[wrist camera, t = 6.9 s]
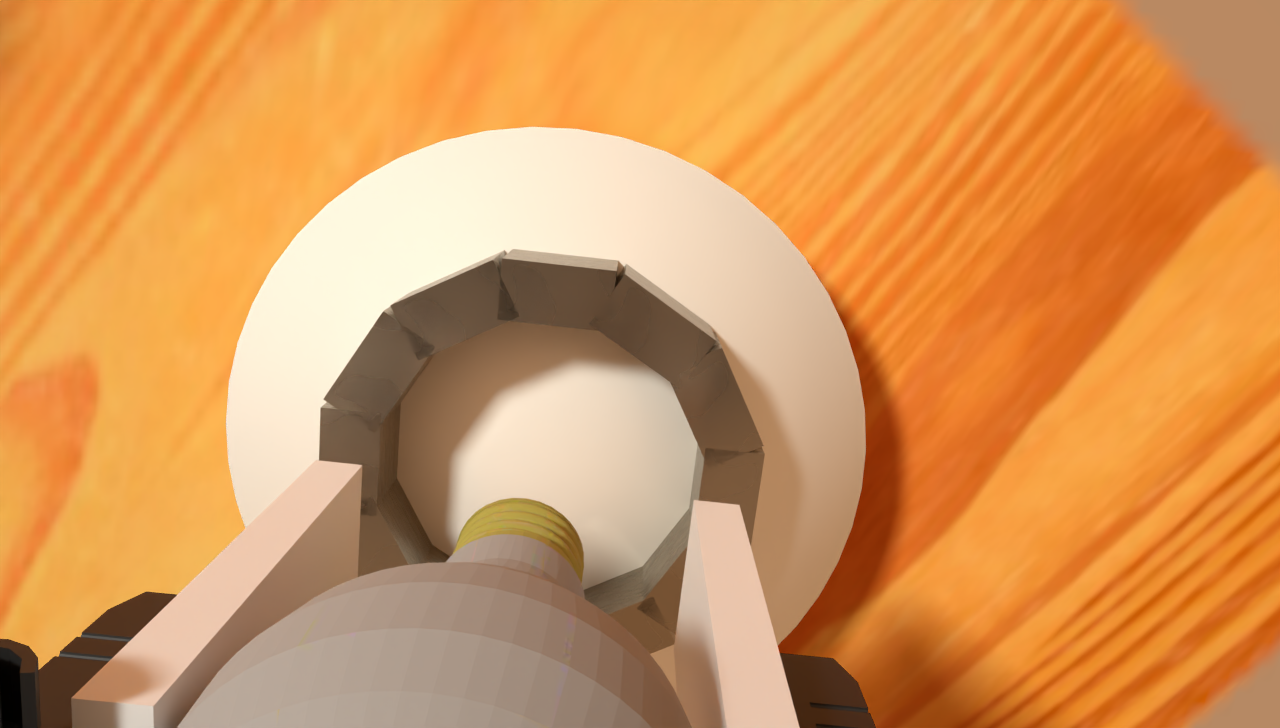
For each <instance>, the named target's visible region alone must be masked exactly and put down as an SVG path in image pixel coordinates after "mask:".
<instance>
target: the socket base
mask: <svg viewBox="0 0 1280 728" xmlns="http://www.w3.org/2000/svg"><path fill="white" fill-rule="evenodd" d="M512 249H519V250H528V251H537V252H546V253H555V254H564V255H573V256H582V257H591V258H600V259H609V260H618V268H617V276H618V274H619V273H620V272H621V270H622V269H623V267H624V266H625V265H626V264H627V265H629V266H630V267H632V268H633V269H634V270H636V271H637V272H638V273H640V274H641V275H642V276H644V277H645V278H647V279H648V280H649V281H651V282H652V283H653V284H655V285H656V286H657V287H659V288H660V289H662V290H663V291H664V292H666V293H667V294H668V295H670V296H671V297H672V298H674V299H675V300H677V301H678V302H679V303H681V304H682V305H683V306H685V307H686V308H687V309H689V310H690V311H692V312H693V313H694V314H696V315H697V316H698V317H700V318H701V319H703V320H704V321H705V322H707V323H708V324H709V325H710V326H711V329H712V331H713V332H716V335H717V337H718V339H719V342H720V344H721V346H722V349H723V351H724V353H725V356H726V358H727V360H728V363H729V365H730V367H731V370H732V372H733V374H734V377H735V379H736V382H737V384H738V386H739V389H740V391H741V393H742V396H743V398H744V400H745V403H746V405H747V407H748V410H749V412H750V414H751V417H752V419H753V421H754V424H755V426H756V429H757V431H758V433H759V436H760V438H761V440H762V443H763V445H764V446H762V449H763V451H764V453H765V456H764V463H763V470H762V476H761V483H760V489H759V496H758V503H757V509H756V516H755V522H754V529H753V536H752V542H751V550H752V553H753V557H754V561H755V565H756V568H757V572H758V576H759V579H760V583H761V587H762V590H763V594H764V598H765V602H766V605H767V609H768V613H769V616H770V620H771V624H772V627H773V631H774V635H775V639H776V642H777V646H778V645H779V644H780V643H781V642H782V641H783V640H784V639H785V638H786V637H787V636H788V635H789V634H790V633H791V631H792V630H793V629H794V628H795V627H796V626H797V625H798V624H799V622H800V621H801V620H802V618H803V617H804V616H805V614H806V613H807V612H808V610H809V609H810V608H811V606H812V605H813V604H814V602H815V601H816V600H817V598H818V597H819V595H820V594H821V592H822V590H823V588H824V587H825V585H826V583H827V581H828V579H829V578H830V576H831V574H832V572H833V571H834V569H835V567H836V565H837V563H838V561H839V559H840V556H841V554H842V551H843V549H844V546H845V544H846V541H847V539H848V536H849V534H850V531H851V529H852V526H853V522H854V518H855V514H856V510H857V506H858V502H859V498H860V494H861V490H862V482H863V473H864V464H865V455H866V432H865V408H864V402H863V396H862V390H861V384H860V378H859V372H858V368H857V365H856V362H855V358H854V355H853V352H852V349H851V346H850V342H849V339H848V336H847V333H846V330H845V328H844V326H843V324H842V322H841V320H840V317H839V315H838V313H837V311H836V309H835V307H834V305H833V303H832V301H831V298H830V296H829V294H828V292H827V291H826V289H825V288H824V286H823V285H822V283H821V282H820V280H819V279H818V277H817V275H816V274H815V272H814V271H813V269H812V268H811V266H810V265H809V263H808V262H807V260H806V259H805V257H804V256H803V255H802V254H801V253H800V251H799V250H798V249H797V248H796V247H795V246H794V245H793V243H792V242H791V241H790V240H789V239H788V238H787V236H786V235H785V234H784V233H783V232H782V231H781V230H780V228H779V227H778V226H777V225H776V224H775V223H774V222H773V221H772V220H770V219H769V218H768V217H767V216H766V215H765V214H764V213H762V212H761V211H760V210H759V209H758V208H757V207H756V206H754V205H753V204H752V203H751V202H750V201H749V200H748V199H746V198H745V197H744V196H743V195H741V194H740V193H738V192H737V191H735V190H734V189H732V188H731V187H729V186H728V185H726V184H725V183H723V182H722V181H720V180H719V179H717V178H716V177H714V176H713V175H711V174H710V173H708V172H707V171H705V170H703V169H701V168H699V167H697V166H695V165H693V164H690V163H688V162H686V161H684V160H682V159H680V158H678V157H676V156H674V155H672V154H670V153H668V152H666V151H663V150H660V149H657V148H654V147H650V146H647V145H644V144H641V143H638V142H635V141H632V140H629V139H626V138H623V137H618V136H613V135H607V134H602V133H596V132H591V131H585V130H580V129H567V128H545V127H525V128H513V129H502V130H491V131H484V132H480V133H475V134H471V135H466V136H462V137H458V138H453V139H449V140H445V141H441V142H439V143H436V144H433V145H431V146H428V147H425V148H423V149H420V150H418V151H415V152H412V153H410V154H407V155H404V156H402V157H400V158H398V159H396V160H394V161H392V162H391V163H389V164H387V165H385V166H383V167H381V168H380V169H378V170H376V171H374V172H372V173H371V174H369V175H367V176H365V177H363V178H362V179H360V180H359V181H358V182H356V183H355V184H354V185H352V186H351V187H350V188H348V189H347V190H346V191H344V192H343V193H342V194H340V195H339V196H338V197H336V198H335V199H334V200H332V201H331V202H330V203H328V204H327V205H326V206H325V207H324V208H323V209H322V210H321V211H320V212H319V213H318V214H317V215H316V216H315V217H314V218H313V219H312V220H311V221H310V222H309V223H308V224H307V225H306V226H305V227H304V228H303V229H302V230H301V231H300V232H299V233H298V234H297V235H296V237H295V238H294V239H293V241H292V242H291V243H290V245H289V246H288V247H287V249H286V250H285V251H284V253H283V254H282V255H281V257H280V258H279V259H278V261H277V262H276V263H275V265H274V266H273V267H272V269H271V271H270V273H269V274H268V276H267V278H266V280H265V282H264V284H263V285H262V287H261V289H260V291H259V293H258V295H257V296H256V298H255V300H254V302H253V304H252V306H251V309H250V311H249V314H248V317H247V319H246V322H245V325H244V327H243V330H242V333H241V335H240V338H239V341H238V344H237V348H236V353H235V358H234V362H233V367H232V371H231V376H230V380H229V389H228V403H227V416H226V431H227V446H228V462H229V467H230V472H231V477H232V482H233V487H234V492H235V497H236V502H237V505H238V507H239V510H240V513H241V516H242V519H243V522H244V525H245V528H247V527H248V526H249V525H250V524H251V523H252V522H253V521H254V520H255V519H256V518H257V517H258V516H259V515H260V514H261V513H262V512H263V511H264V510H265V509H266V508H267V507H268V506H269V505H270V504H271V503H272V502H273V501H274V500H275V499H276V498H277V497H278V496H280V495H281V494H282V493H283V492H284V491H285V490H286V489H287V488H288V487H289V486H290V485H291V484H292V483H293V482H294V481H295V480H296V479H297V478H298V477H299V476H300V475H301V474H302V473H303V472H304V471H305V470H306V469H307V468H308V467H309V466H310V465H311V464H312V463H313V462H314V461H315V460H319V440H320V408H321V407H322V406H323V405H324V404H325V403H326V401H325V400H323V399H324V397H325V396H326V394H327V393H328V391H329V390H330V388H331V387H332V386H333V384H334V383H335V381H336V380H337V378H338V377H339V375H340V374H341V372H342V371H343V369H344V368H345V366H346V365H347V364H348V362H349V361H350V359H351V358H352V356H353V355H354V353H355V352H356V350H357V349H358V347H359V346H360V344H361V343H362V341H363V340H364V339H365V337H366V336H367V334H368V333H369V331H370V330H371V328H372V327H373V325H374V324H375V322H376V321H377V319H378V318H379V316H380V315H381V314H382V312H383V311H384V310H386V309H387V308H389V307H390V305H391V304H393V303H394V302H396V301H397V300H399V299H400V298H402V297H404V296H405V295H407V294H408V293H410V292H412V291H414V290H416V289H418V288H421V287H423V286H425V285H427V284H430V283H432V282H434V281H436V280H439V279H441V278H443V277H445V276H448V275H450V274H452V273H454V272H457V271H459V270H461V269H463V268H466V267H468V266H470V265H472V264H475V263H477V262H479V261H481V260H484V259H486V258H488V257H490V256H493V255H495V254H497V253H499V252H502V251H504V250H505V252H506V254H508V253H509V252H510V251H511V250H512ZM697 445H698V444H697V441H696V439H695V437H694V435H693V432H692V430H691V428H690V426H689V423H688V421H687V419H686V417H685V414H684V412H683V410H682V408H681V405H680V403H679V401H678V399H677V396H676V394H675V392H674V390H673V387H672V385H671V383H670V382H669V381H668V380H667V379H665V378H664V377H662V376H661V375H660V374H658V373H657V372H655V371H654V370H653V369H651V368H650V367H648V366H647V365H646V364H644V363H643V362H641V361H640V360H639V359H637V358H636V357H634V356H633V355H632V354H630V353H629V352H627V351H626V350H625V349H623V348H622V347H620V346H619V345H618V344H616V343H615V342H613V341H612V340H611V339H609V338H608V337H606V336H605V335H604V334H602V333H601V332H599V331H596V330H587V329H578V328H568V327H559V326H550V325H541V324H532V323H522V322H513V321H508V322H506V323H504V324H501V325H499V326H497V327H494V328H492V329H490V330H487V331H485V332H483V333H481V334H478V335H476V336H474V337H471V338H469V339H467V340H465V341H462V342H460V343H458V344H455V345H453V346H451V347H449V348H446V349H444V350H442V351H439V352H437V353H435V355H434V356H433V357H432V359H431V360H430V362H429V363H428V365H427V366H426V367H425V369H424V370H423V372H422V373H421V375H420V376H419V377H418V379H417V380H416V382H415V383H414V385H413V386H412V387H411V389H410V390H409V392H408V393H407V395H406V396H405V397H404V399H403V400H402V402H401V409H400V428H399V447H398V466H397V479H398V481H399V483H400V485H401V487H402V489H403V490H404V492H405V494H406V496H407V498H408V500H409V502H410V504H411V506H412V507H413V509H414V511H415V513H416V515H417V517H418V519H419V521H420V522H421V524H422V526H423V528H424V530H425V532H426V534H427V536H428V538H429V539H430V541H431V543H432V545H433V546H435V547H436V548H438V549H439V550H441V551H443V552H444V553H446V554H447V555H449V556H450V557H451V556H452V554H453V552H454V550H455V548H456V544H457V541H458V538H459V535H460V532H461V530H462V528H463V527H464V525H465V523H466V522H467V520H468V519H469V518H470V517H471V516H472V515H473V514H474V513H475V512H476V511H478V510H479V509H481V508H482V507H484V506H485V505H487V504H490V503H493V502H495V501H498V500H502V499H509V498H527V499H531V500H535V501H540V502H542V503H544V504H546V505H549V506H551V507H553V508H554V509H555V510H557V511H558V512H560V513H561V514H563V515H564V516H565V517H566V518H567V519H568V520H569V521H570V522H571V524H572V525H573V527H574V528H575V530H576V531H577V533H578V535H579V538H580V540H581V543H582V547H583V552H584V570H583V578H582V587H583V590H585V589H587V588H590V587H592V586H595V585H597V584H600V583H602V582H605V581H607V580H610V579H612V578H615V577H617V576H620V575H622V574H625V573H627V572H630V571H632V570H634V569H637V568H639V567H642V566H643V565H644V564H645V563H646V561H647V560H648V559H649V558H650V556H651V555H652V554H653V553H654V551H655V550H656V549H657V548H658V546H659V545H660V544H661V543H662V541H663V540H664V539H665V538H666V536H667V535H668V534H669V533H670V531H671V530H672V529H673V528H674V526H675V525H676V524H677V523H678V521H679V520H680V519H681V518H682V516H683V515H684V514H685V513H686V511H687V510H688V509H689V505H690V498H691V490H692V483H693V475H694V468H695V460H696V453H697ZM675 636H676V635H675ZM650 655H651V656H652V657H653V659H654V660H655V661H656V662H657V664H658V665H659V666H660V668H661V669H662V670H663V672H664V674H665V675H666V677H667V679H668V680H669V682H670V683H671V685H672V687H673V688H674V690H675V692H676V694H677V690H676V674H675V658H674V645H672V646H669V647H666V648H664V649H661V650H659V651H656V652H654V653H651V654H650Z"/></svg>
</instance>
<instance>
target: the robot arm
mask: <svg viewBox="0 0 1280 728" xmlns="http://www.w3.org/2000/svg"><path fill="white" fill-rule="evenodd" d="M361 487H362V465H357V464H348V463H338V462H329V461H319V460H315V461H314V462H313V463H312V464H311V465H310V466H309V467H308V468H307V469H306V470H305V471H304V472H303V473H302V474H301V475H300V476H299V477H298V478H297V479H296V480H295V481H294V482H293V483H292V484H291V485H290V486H289V487H288V488H287V489H286V490H285V491H284V492H283V493H282V494H281V495H280V496H278V497H277V498H276V499H275V500H274V501H273V502H272V503H271V504H270V505H269V506H268V507H267V508H266V509H265V510H264V511H263V512H262V513H261V514H260V515H259V516H258V517H257V518H256V519H255V520H254V521H253V522H252V523H251V524H250V525H249V526H248V527H247V528H246V529H245V530H244V531H243V532H241V533H240V534H239V535H238V536H237V537H236V538H235V539H234V540H233V541H232V542H231V543H230V544H229V545H228V546H227V547H226V548H225V549H224V550H223V551H222V552H221V553H220V554H219V555H218V556H217V557H216V558H215V559H214V560H213V561H212V562H211V563H210V564H209V565H208V566H207V567H206V568H204V569H203V570H202V571H201V572H200V573H199V574H198V575H197V576H196V577H195V578H194V579H193V580H192V581H191V582H190V583H189V584H188V585H187V586H186V587H185V588H184V589H183V590H182V591H181V592H180V593H179V594H178V595H175V594H165V593H155V592H145V593H142V594H140V595H138V596H136V597H134V598H132V599H130V600H128V601H125V602H123V603H121V604H119V605H117V606H115V607H113V608H111V609H108V610H107V611H106V612H105V613H104V614H103V615H101V616H100V617H99V618H98V619H97V620H96V621H95V622H93V623H92V624H91V625H90V626H89V627H88V628H87V629H85V630H84V631H83V632H82V635H81V637H76V638H75V639H74V640H73V641H72V642H71V643H69V644H68V645H67V646H66V647H65V648H64V649H63V650H61V651H60V655H59V657H56V656H55V657H53V658H52V659H51V660H50V661H49V662H48V663H47V664H45V665H44V666H43V667H42V668H41V669H40V670H38V657H37V656H36V655H35V653H34V652H33V651H32V650H31V649H30V647H29V646H26V645H24V644H21V643H18V642H15V641H12V640H9V639H0V728H177V727H178V725H179V724H180V723H181V721H182V720H183V718H184V717H185V716H186V714H187V713H188V712H189V710H190V709H191V708H192V706H193V705H194V703H195V702H196V701H197V699H198V698H199V697H200V695H201V694H202V692H203V691H204V690H205V688H206V687H207V686H208V685H209V683H210V682H211V681H212V679H213V678H214V677H215V675H216V674H217V673H218V672H219V670H220V669H221V668H222V667H223V666H224V665H225V664H226V663H227V662H228V661H229V660H230V659H231V658H232V657H233V656H234V655H235V654H236V653H237V652H238V651H239V650H241V649H242V648H243V647H244V646H245V645H247V644H248V643H249V642H250V641H251V640H253V639H254V638H255V637H256V636H258V635H259V634H261V633H262V632H264V631H265V630H267V629H268V628H270V627H271V626H273V625H274V624H276V623H277V622H279V621H280V620H282V619H283V618H285V617H286V616H288V615H289V614H291V613H292V612H294V611H295V610H297V609H298V608H300V607H301V606H303V605H304V604H305V603H307V602H308V601H310V600H311V599H313V598H314V597H316V596H318V595H320V594H322V593H324V592H326V591H328V590H329V589H331V588H333V587H335V586H337V585H340V584H342V583H345V582H347V581H350V580H352V579H354V578H357V577H358V557H359V533H360V510H361ZM674 658H675V674H676V690H677V697H678V699H679V701H680V703H681V705H682V707H683V709H684V711H685V713H686V716H687V718H688V720H689V722H690V724H691V726H692V728H876V727H875V724H874V722H873V719H872V717H871V714H870V713H868V707H867V704H866V702H865V699H864V697H863V694H862V692H861V690H860V687H859V685H858V682H857V681H856V680H855V679H854V678H853V677H852V676H851V675H850V674H849V673H848V672H847V671H846V670H845V669H844V668H843V667H842V666H841V665H839V664H838V663H837V662H836V661H835V660H834V659H833V658H823V657H814V656H804V655H794V654H784V653H779V650H778V646H777V642H776V639H775V635H774V631H773V627H772V624H771V620H770V616H769V613H768V609H767V605H766V602H765V598H764V594H763V590H762V587H761V583H760V579H759V576H758V572H757V568H756V565H755V561H754V557H753V553H752V550H751V546H750V542H749V539H748V535H747V531H746V528H745V524H744V520H743V516H742V513H741V509H740V505H736V504H727V503H718V502H708V501H699V500H694V502H693V509H692V516H691V524H690V531H689V539H688V546H687V554H686V561H685V569H684V576H683V584H682V591H681V599H680V606H679V613H678V621H677V628H676V636H675V643H674Z"/></svg>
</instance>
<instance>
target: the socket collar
mask: <svg viewBox="0 0 1280 728" xmlns="http://www.w3.org/2000/svg"><path fill="white" fill-rule="evenodd" d="M617 268H618V260H609V259H600V258H591V257H582V256H573V255H564V254H555V253H546V252H537V251H528V250H519V249H512V250H511V251H510V252H509V253H508V254H506V252H505V250H504V251H502V252H499V253H497V254H495V255H493V256H490V257H488V258H486V259H484V260H481V261H479V262H477V263H475V264H472V265H470V266H468V267H466V268H463V269H461V270H459V271H457V272H454V273H452V274H450V275H448V276H445V277H443V278H441V279H439V280H436V281H434V282H432V283H430V284H427V285H425V286H423V287H421V288H418V289H416V290H414V291H412V292H410V293H408V294H407V295H405V296H404V297H402V298H400V299H399V300H397V301H396V302H394V303H393V304H391V305H390V307H389V308H387V309H386V310H384V311H383V312H382V314H381V315H380V316H379V318H378V319H377V321H376V322H375V324H374V325H373V327H372V328H371V330H370V331H369V333H368V334H367V336H366V337H365V339H364V340H363V341H362V343H361V344H360V346H359V347H358V349H357V350H356V352H355V353H354V355H353V356H352V358H351V359H350V361H349V362H348V364H347V365H346V366H345V368H344V369H343V371H342V372H341V374H340V375H339V377H338V378H337V380H336V381H335V383H334V384H333V386H332V387H331V388H330V390H329V391H328V393H327V394H326V396H325V397H324V399H323V400H325V401H326V403H325V404H324V405H323V406H322V407H321V408H320V440H319V461H329V462H338V463H348V464H357V465H362V487H361V510H360V533H359V557H358V577H360V576H363V575H367V574H370V573H373V572H377V571H380V570H384V569H389V568H394V567H399V566H404V565H413V564H423V563H445V562H446V561H447V560H448V559H449V558H450V556H449V555H447V554H446V553H444V552H443V551H441V550H439V549H438V548H436V547H435V546H433V545H432V543H431V541H430V539H429V538H428V536H427V534H426V532H425V530H424V528H423V526H422V524H421V522H420V521H419V519H418V517H417V515H416V513H415V511H414V509H413V507H412V506H411V504H410V502H409V500H408V498H407V496H406V494H405V492H404V490H403V489H402V487H401V485H400V483H399V481H398V479H397V466H398V447H399V428H400V409H401V402H402V400H403V399H404V397H405V396H406V395H407V393H408V392H409V390H410V389H411V387H412V386H413V385H414V383H415V382H416V380H417V379H418V377H419V376H420V375H421V373H422V372H423V370H424V369H425V367H426V366H427V365H428V363H429V362H430V360H431V359H432V357H433V356H434V355H435V353H437V352H439V351H442V350H444V349H446V348H449V347H451V346H453V345H455V344H458V343H460V342H462V341H465V340H467V339H469V338H471V337H474V336H476V335H478V334H481V333H483V332H485V331H487V330H490V329H492V328H494V327H497V326H499V325H501V324H504V323H506V322H508V321H513V322H522V323H532V324H541V325H550V326H559V327H568V328H578V329H587V330H596V331H599V332H601V333H602V334H604V335H605V336H606V337H608V338H609V339H611V340H612V341H613V342H615V343H616V344H618V345H619V346H620V347H622V348H623V349H625V350H626V351H627V352H629V353H630V354H632V355H633V356H634V357H636V358H637V359H639V360H640V361H641V362H643V363H644V364H646V365H647V366H648V367H650V368H651V369H653V370H654V371H655V372H657V373H658V374H660V375H661V376H662V377H664V378H665V379H667V380H668V381H669V382H670V383H671V385H672V387H673V390H674V392H675V394H676V396H677V399H678V401H679V403H680V405H681V408H682V410H683V412H684V414H685V417H686V419H687V421H688V423H689V426H690V428H691V430H692V432H693V435H694V437H695V439H696V441H697V444H698V445H697V453H696V460H695V468H694V475H693V483H692V490H691V498H690V505H689V509H688V510H687V511H686V513H685V514H684V515H683V516H682V518H681V519H680V520H679V521H678V523H677V524H676V525H675V526H674V528H673V529H672V530H671V531H670V533H669V534H668V535H667V536H666V538H665V539H664V540H663V541H662V543H661V544H660V545H659V546H658V548H657V549H656V550H655V551H654V553H653V554H652V555H651V556H650V558H649V559H648V560H647V561H646V563H645V564H644V565H643V566H642V567H639V568H637V569H634V570H632V571H630V572H627V573H625V574H622V575H620V576H617V577H615V578H612V579H610V580H607V581H605V582H602V583H600V584H597V585H595V586H592V587H590V588H587V589H585V590H583V591H584V595H585V600H587V601H588V602H590V603H592V604H593V605H595V606H596V607H598V608H599V609H601V610H602V611H603V612H605V613H606V614H608V615H609V616H610V617H612V618H613V619H615V620H616V621H617V622H618V623H619V624H620V625H622V626H623V627H624V628H625V629H626V630H627V631H628V632H630V633H631V634H632V635H633V636H634V637H635V638H636V639H637V640H638V641H639V642H640V644H641V645H642V646H643V647H644V648H645V649H646V650H647V651H648V652H649V653H650V654H651V653H654V652H656V651H659V650H661V649H664V648H666V647H669V646H672V645H674V643H675V635H676V628H677V621H678V613H679V606H680V599H681V591H682V584H683V576H684V569H685V561H686V554H687V546H688V539H689V531H690V524H691V516H692V509H693V502H694V500H699V501H708V502H718V503H727V504H736V505H740V509H741V513H742V516H743V520H744V524H745V528H746V531H747V535H748V539H749V542H750V546H751V542H752V536H753V529H754V522H755V516H756V509H757V503H758V496H759V489H760V483H761V476H762V470H763V463H764V456H765V453H764V451H763V449H762V446H764V445H763V443H762V440H761V438H760V436H759V433H758V431H757V429H756V426H755V424H754V421H753V419H752V417H751V414H750V412H749V410H748V407H747V405H746V403H745V400H744V398H743V396H742V393H741V391H740V389H739V386H738V384H737V382H736V379H735V377H734V374H733V372H732V370H731V367H730V365H729V363H728V360H727V358H726V356H725V353H724V351H723V349H722V346H721V344H720V342H719V339H718V337H717V335H716V332H713V331H712V329H711V326H710V325H709V324H708V323H707V322H705V321H704V320H703V319H701V318H700V317H698V316H697V315H696V314H694V313H693V312H692V311H690V310H689V309H687V308H686V307H685V306H683V305H682V304H681V303H679V302H678V301H677V300H675V299H674V298H672V297H671V296H670V295H668V294H667V293H666V292H664V291H663V290H662V289H660V288H659V287H657V286H656V285H655V284H653V283H652V282H651V281H649V280H648V279H647V278H645V277H644V276H642V275H641V274H640V273H638V272H637V271H636V270H634V269H633V268H632V267H630V266H629V265H627V264H626V265H625V266H624V267H623V269H622V270H621V272H620V273H619V274H618V276H617Z"/></svg>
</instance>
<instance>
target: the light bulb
mask: <svg viewBox="0 0 1280 728" xmlns="http://www.w3.org/2000/svg"><path fill="white" fill-rule="evenodd" d="M583 570H584V552H583V547H582V543H581V540H580V538H579V535H578V533H577V531H576V530H575V528H574V527H573V525H572V524H571V522H570V521H569V520H568V519H567V518H566V517H565V516H564V515H563V514H561V513H560V512H558V511H557V510H555V509H554V508H553V507H551V506H549V505H546V504H544V503H542V502H540V501H535V500H531V499H527V498H509V499H502V500H498V501H495V502H493V503H490V504H487V505H485V506H484V507H482V508H481V509H479V510H478V511H476V512H475V513H474V514H473V515H472V516H471V517H470V518H469V519H468V520H467V522H466V523H465V525H464V527H463V528H462V530H461V532H460V535H459V538H458V541H457V544H456V548H455V550H454V552H453V554H452V556H451V557H450V558H449V559H448V560H447V561H446V562H445V563H423V564H413V565H404V566H399V567H394V568H389V569H384V570H380V571H377V572H373V573H370V574H367V575H363V576H360V577H357V578H354V579H352V580H350V581H347V582H345V583H342V584H340V585H337V586H335V587H333V588H331V589H329V590H328V591H326V592H324V593H322V594H320V595H318V596H316V597H314V598H313V599H311V600H310V601H308V602H307V603H305V604H304V605H303V606H301V607H300V608H298V609H297V610H295V611H294V612H292V613H291V614H289V615H288V616H286V617H285V618H283V619H282V620H280V621H279V622H277V623H276V624H274V625H273V626H271V627H270V628H268V629H267V630H265V631H264V632H262V633H261V634H259V635H258V636H256V637H255V638H254V639H253V640H251V641H250V642H249V643H248V644H247V645H245V646H244V647H243V648H242V649H241V650H239V651H238V652H237V653H236V654H235V655H234V656H233V657H232V658H231V659H230V660H229V661H228V662H227V663H226V664H225V665H224V666H223V667H222V668H221V669H220V670H219V672H218V673H217V674H216V675H215V677H214V678H213V679H212V681H211V682H210V683H209V685H208V686H207V687H206V688H205V690H204V691H203V692H202V694H201V695H200V697H199V698H198V699H197V701H196V702H195V703H194V705H193V706H192V708H191V709H190V710H189V712H188V713H187V714H186V716H185V717H184V718H183V720H182V721H181V723H180V724H179V725H178V727H177V728H692V726H691V724H690V722H689V720H688V718H687V716H686V713H685V711H684V709H683V707H682V705H681V703H680V701H679V699H678V697H677V694H676V692H675V690H674V688H673V687H672V685H671V683H670V682H669V680H668V679H667V677H666V675H665V674H664V672H663V670H662V669H661V668H660V666H659V665H658V664H657V662H656V661H655V660H654V659H653V657H652V656H651V655H650V653H649V652H648V651H647V650H646V649H645V648H644V647H643V646H642V645H641V644H640V642H639V641H638V640H637V639H636V638H635V637H634V636H633V635H632V634H631V633H630V632H628V631H627V630H626V629H625V628H624V627H623V626H622V625H620V624H619V623H618V622H617V621H616V620H615V619H613V618H612V617H610V616H609V615H608V614H606V613H605V612H603V611H602V610H601V609H599V608H598V607H596V606H595V605H593V604H592V603H590V602H588V601H587V600H585V595H584V591H583V587H582V578H583Z"/></svg>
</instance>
